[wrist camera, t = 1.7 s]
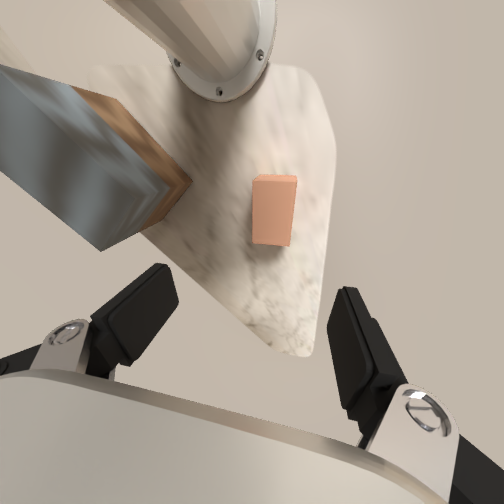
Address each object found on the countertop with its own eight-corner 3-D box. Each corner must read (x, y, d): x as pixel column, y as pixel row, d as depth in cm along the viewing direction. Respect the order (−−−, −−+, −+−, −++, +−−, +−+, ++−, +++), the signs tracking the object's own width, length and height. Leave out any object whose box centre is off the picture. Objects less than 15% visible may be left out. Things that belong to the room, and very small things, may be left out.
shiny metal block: (93, 155, 29) (-17, 157, 19) (116, 99, 24) (-12, 60, 14) (161, 220, 32) (100, 251, 22) (193, 181, 28) (134, 198, 17)
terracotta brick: (260, 174, 26) (252, 180, 20) (296, 175, 25) (297, 181, 20) (259, 227, 29) (252, 243, 24) (289, 229, 29) (289, 246, 23)
